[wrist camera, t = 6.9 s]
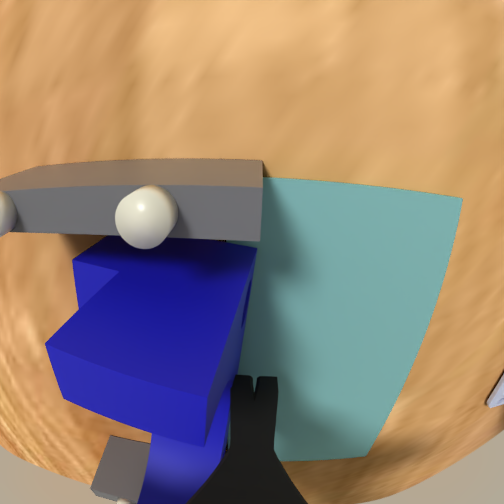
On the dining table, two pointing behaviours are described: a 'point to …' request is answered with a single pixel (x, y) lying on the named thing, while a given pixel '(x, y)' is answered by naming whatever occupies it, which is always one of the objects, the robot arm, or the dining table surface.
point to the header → (135, 234)
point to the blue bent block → (159, 349)
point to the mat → (341, 306)
